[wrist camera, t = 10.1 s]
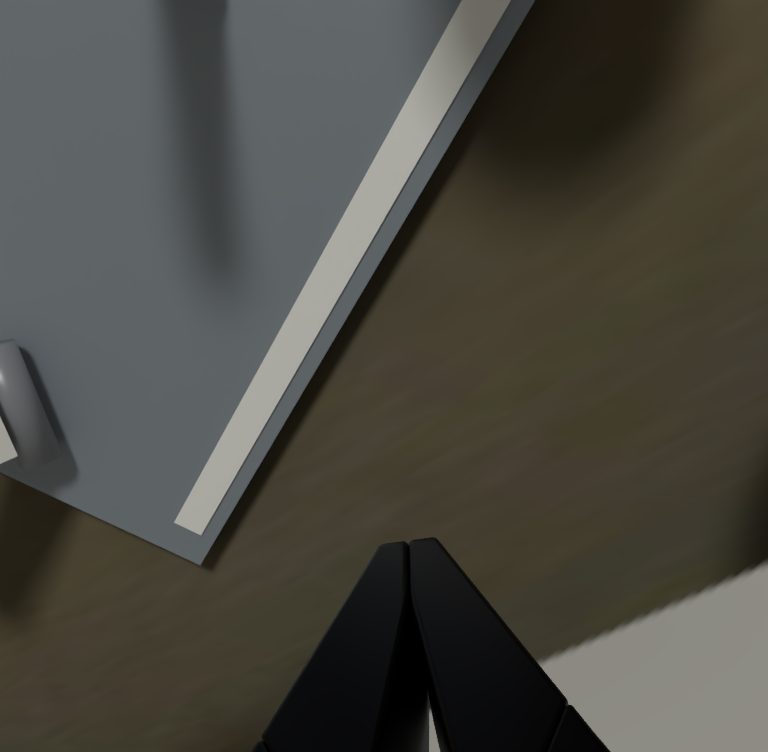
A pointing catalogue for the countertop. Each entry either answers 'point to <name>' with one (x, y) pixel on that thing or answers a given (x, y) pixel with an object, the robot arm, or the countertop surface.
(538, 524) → the countertop surface
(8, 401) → the lever
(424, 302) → the countertop surface
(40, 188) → the switch panel
